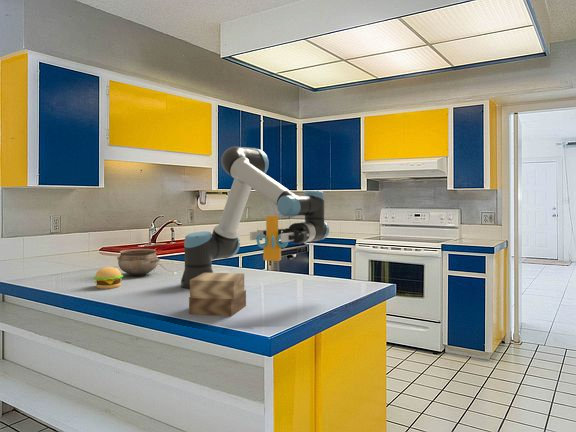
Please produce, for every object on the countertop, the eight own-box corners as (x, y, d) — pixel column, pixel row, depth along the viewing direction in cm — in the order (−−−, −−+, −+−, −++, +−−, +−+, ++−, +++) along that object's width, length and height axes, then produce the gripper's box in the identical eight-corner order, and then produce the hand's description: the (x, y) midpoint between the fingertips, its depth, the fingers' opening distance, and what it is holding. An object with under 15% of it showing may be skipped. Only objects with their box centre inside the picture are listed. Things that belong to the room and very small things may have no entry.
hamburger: (128, 285, 204) (128, 265, 204) (111, 290, 193) (111, 270, 192) (105, 283, 207) (105, 264, 207) (87, 288, 196) (87, 268, 196)
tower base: (189, 315, 154) (189, 297, 153) (207, 304, 168) (207, 288, 168) (231, 317, 150) (231, 299, 150) (246, 306, 165) (245, 290, 165)
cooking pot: (170, 273, 234) (170, 249, 233) (147, 280, 216) (146, 254, 215) (130, 270, 242) (130, 247, 242) (104, 276, 225) (104, 252, 224)
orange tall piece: (256, 257, 160) (255, 214, 160) (285, 257, 161) (285, 214, 161) (257, 262, 148) (257, 216, 147) (289, 262, 149) (289, 216, 149)
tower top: (189, 298, 152) (189, 280, 152) (204, 288, 167) (204, 272, 167) (233, 299, 150) (233, 281, 150) (244, 289, 165) (244, 273, 165)
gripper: (329, 244, 163) (296, 251, 145) (274, 240, 176) (237, 246, 159) (330, 223, 162) (296, 227, 144) (274, 221, 176) (237, 224, 158)
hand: (265, 237), depth 151 cm, fingers closed on orange tall piece, 12 cm apart
